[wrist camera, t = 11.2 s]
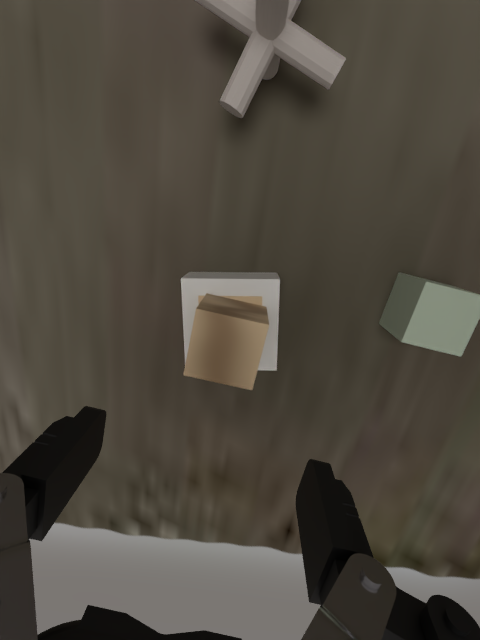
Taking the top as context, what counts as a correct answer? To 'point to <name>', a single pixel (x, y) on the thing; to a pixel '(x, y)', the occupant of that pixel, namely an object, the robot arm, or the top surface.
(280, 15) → the pipe connector
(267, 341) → the white base
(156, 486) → the top surface
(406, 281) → the sage block
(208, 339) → the oak block
